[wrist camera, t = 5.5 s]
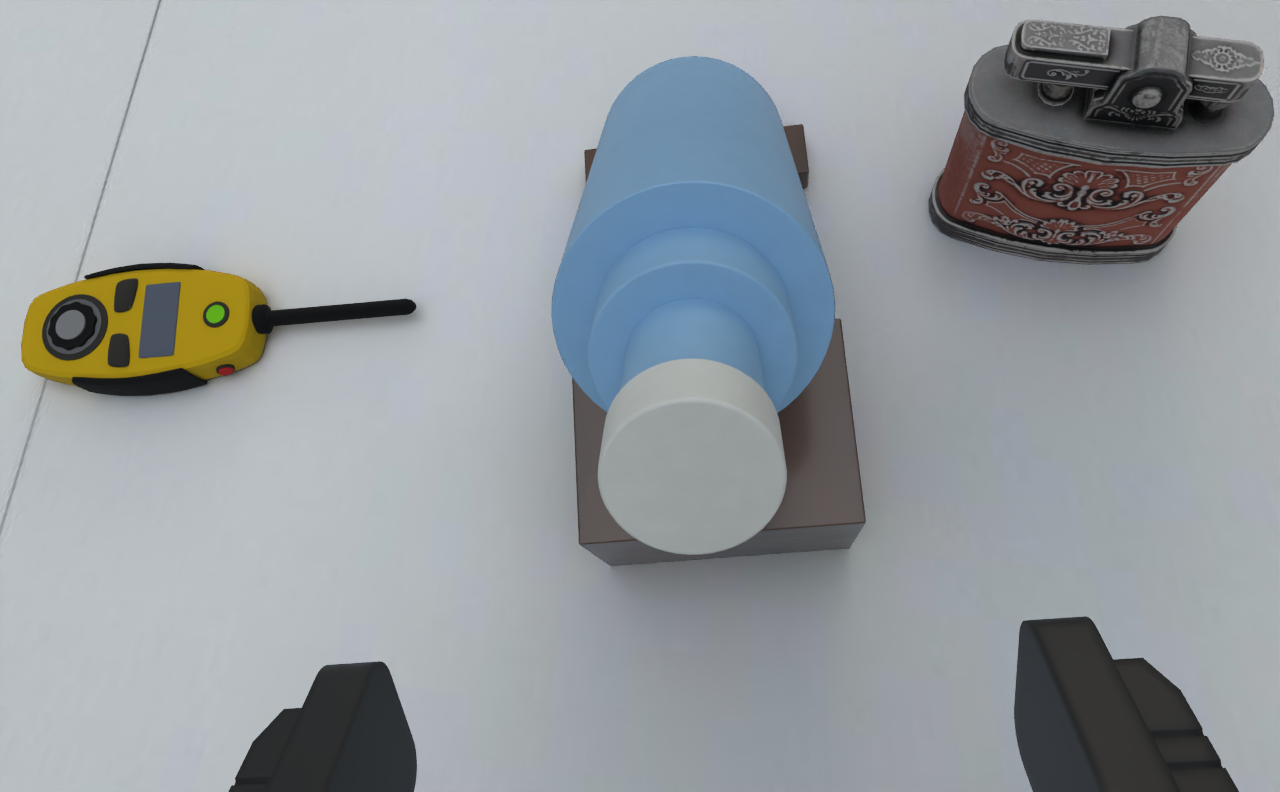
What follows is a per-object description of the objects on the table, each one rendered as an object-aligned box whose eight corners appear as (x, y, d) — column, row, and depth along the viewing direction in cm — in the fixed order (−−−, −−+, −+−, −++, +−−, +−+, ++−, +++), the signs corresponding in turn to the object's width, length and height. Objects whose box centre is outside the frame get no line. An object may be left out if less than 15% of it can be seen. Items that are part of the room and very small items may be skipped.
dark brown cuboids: (802, 140, 37) (807, 49, 31) (850, 548, 32) (866, 522, 27) (589, 165, 37) (559, 80, 32) (609, 566, 33) (579, 544, 28)
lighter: (1172, 188, 34) (1327, -1, 25) (1164, 277, 33) (1321, 118, 24) (935, 158, 36) (996, -31, 26) (922, 243, 35) (979, 79, 25)
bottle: (609, 138, 38) (476, -306, 21) (777, 118, 37) (785, -357, 20) (636, 615, 33) (490, 553, 16) (831, 602, 32) (902, 522, 15)
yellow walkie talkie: (21, 269, 37) (406, 231, 35) (57, 288, 39) (424, 253, 37) (4, 392, 36) (403, 359, 34) (42, 406, 38) (421, 375, 36)
